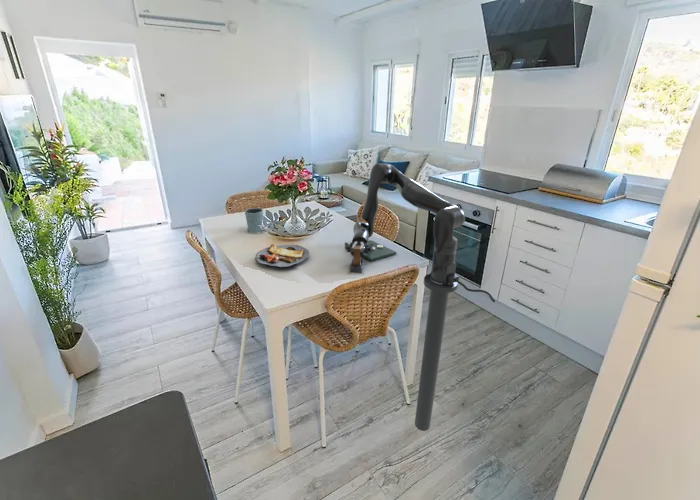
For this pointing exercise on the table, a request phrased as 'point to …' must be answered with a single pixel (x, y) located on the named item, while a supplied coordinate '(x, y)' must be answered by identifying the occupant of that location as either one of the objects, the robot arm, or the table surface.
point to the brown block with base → (357, 261)
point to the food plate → (282, 255)
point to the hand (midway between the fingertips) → (356, 254)
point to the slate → (378, 252)
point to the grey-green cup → (254, 219)
